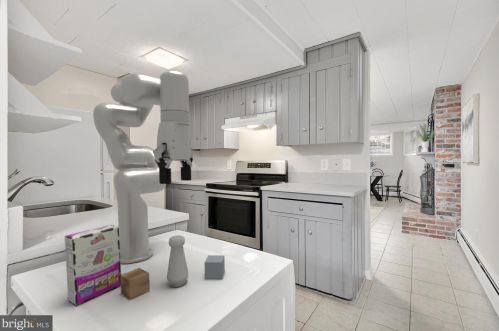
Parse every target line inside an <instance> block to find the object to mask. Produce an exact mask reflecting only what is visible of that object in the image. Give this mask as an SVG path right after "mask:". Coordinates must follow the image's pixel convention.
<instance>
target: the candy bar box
mask: <svg viewBox="0 0 499 331" xmlns="http://www.w3.org/2000/svg"><path fill="white" fill-rule="evenodd" d="M64 248H65V249H64V250H65V262H66V263H65V264H66V265H65V266H66V283H67V284H66V285H67V299H68V302H70V301H71V302H72V304H73V303H74V304H75V306H76V305H78V306H80V305H82V304H85V303H87V302H89V301H91V300H93V299H95V298H97V297H100V296H102V295H103V294H106V293H109V292H110V291H112V290H114V289H117V288H118V287H121V275H122V269H121V268H122V265H121V264H122V263H120V242H119V227H118V226H117V225H113V224H108V225H103V226H100V227H95V228H92V229H91V228H90V229H87V230H83V231H80V232H75V233H71V234H66V235H64ZM71 302H70V303H71ZM84 302H85V303H84ZM74 304H73V305H74ZM79 304H80V305H79Z"/></svg>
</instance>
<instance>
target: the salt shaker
mask: <svg viewBox="0 0 499 331" xmlns="http://www.w3.org/2000/svg"><path fill="white" fill-rule="evenodd" d="M185 240H186V239H185V237H184V236H183V235H173V236H171V237H169V239H168V246H169V247H170V252H169V257H168V258H169V259H168V265H167V266H168V267H167V272H166V280H167V281H168V283H169V284H170V287H174V288H178V287H182V286H184V285H185V284H186V282H187V279H188V277H189V269H188V265H187V259H186V255H185V250H184V245H185V242H186V241H185Z"/></svg>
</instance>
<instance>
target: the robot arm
mask: <svg viewBox="0 0 499 331" xmlns="http://www.w3.org/2000/svg"><path fill="white" fill-rule="evenodd" d="M189 84H190V82H189V78H188V76H187V75H186V74H185V73H184V72H180V71H176V70H169V71H167V70H166V71H164V72H162V73H161V74H160V75H159V78H158V77H155V76H150V75H146V74H142V73H129V74H126V75H124V76H123V77H122V78H121V81H119V82H117V83H115V84H113V86H112V87H111V89H110V96H111V98H112V99H113V101H114V102H115V103H112V102H103V103H98V104H97V105H96V106H95V107H94V109H93V113H92V117H93V122H94V127H95V129H96V131H97V132H98V134H99V136H100V137H101V139H102V141H103V142H104V143H105V146H106V149H107V150H106V151H107V152H108V154H109V155H108V156H109V159H110V161H111V163H112V166H113V168H115V170H117V171H116V173H115V174H114V176H113V186H114V190H115V196H116V203H117V222H118V223H117V224H118V227H119V242H120V264H122V265H123V264H128V265H129V264H134V263H140V262H143V261H145V260H148V259H149V258H151V257H152V256H153V255H154V249H153V248H151V247H149V246H150V245H149V213H148V212H149V211H148V204H147V202H146V201H145V200H144V199H143V198H142V197H141V195H145V194H153V193H159V192H161V191H163V190H164V189H165V188H166V186H167V185H171V184H172V168H171V167H170V166H171V164H172V162H174V161H175V162H179V163H180V165H181V166H180V181H183V182H184V181H186V182H187V181H190V182H191V181H192V166H193V160H194V156H195V153H194V151H193V150H192V142H191V141H192V140H191V132H190V127H189V126H190V96H189V95H190V94H189V92H190V89H189V88H190V86H189ZM154 105H155V106H159V109H160V122H159V123H158V128H157V134H156V135H157V136H156V148H155V149H154V148H152V147H151V146H147V145H135V144H132V141H131V139H130V137H129V135H128V134H127V133H126V132H125V131H124V130H123V129H121V128H119V127H126V128H127V127H128V128H141V126H143V124H144V123H145V122H146V121H147V117H148V116H149V115H150V113H151V111H152V110H153V107H154Z"/></svg>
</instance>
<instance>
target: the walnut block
mask: <svg viewBox="0 0 499 331" xmlns="http://www.w3.org/2000/svg"><path fill="white" fill-rule="evenodd" d="M150 288H151V287H150V272H148V271H147V270H145V269H142V268H140V267H138V268H134V269H133V270H130V271H127V272H124V273H121V286H120V294H121V295H122V296H123V297H125V298H126V299H128V300H129V301H132V300H135V299H136V298H139V297H140V296H142V295H144V294H147V293H149V292H150V291H151V289H150Z"/></svg>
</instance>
